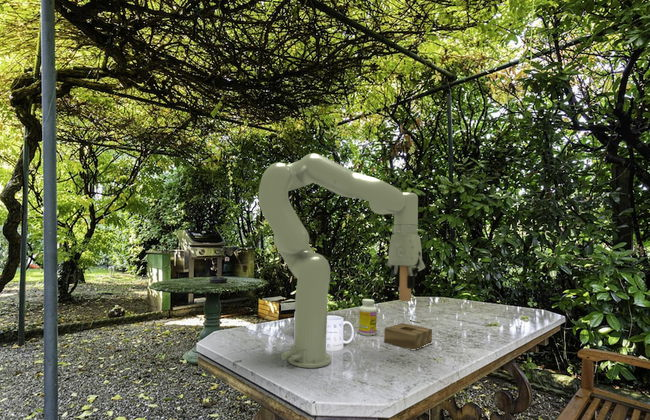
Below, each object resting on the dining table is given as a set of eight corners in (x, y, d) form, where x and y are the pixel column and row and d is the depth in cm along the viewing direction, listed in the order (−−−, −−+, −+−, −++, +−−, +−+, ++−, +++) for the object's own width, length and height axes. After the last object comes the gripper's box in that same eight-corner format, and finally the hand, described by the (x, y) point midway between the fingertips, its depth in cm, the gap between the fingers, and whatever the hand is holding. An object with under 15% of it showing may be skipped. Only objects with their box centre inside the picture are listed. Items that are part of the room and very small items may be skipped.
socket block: (414, 350, 121) (414, 335, 121) (384, 342, 129) (384, 328, 129) (431, 343, 129) (432, 329, 130) (402, 336, 137) (402, 323, 138)
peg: (406, 301, 115) (407, 263, 116) (397, 300, 117) (397, 262, 118) (412, 300, 118) (413, 263, 118) (403, 299, 120) (403, 262, 121)
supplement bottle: (370, 337, 135) (371, 302, 136) (355, 334, 139) (356, 299, 140) (379, 333, 141) (380, 299, 141) (364, 330, 145) (365, 297, 145)
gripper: (378, 229, 122) (377, 285, 121) (423, 230, 111) (422, 291, 109) (390, 230, 128) (389, 283, 126) (434, 231, 116) (434, 289, 115)
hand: (405, 286), depth 118 cm, fingers closed on peg, 3 cm apart
